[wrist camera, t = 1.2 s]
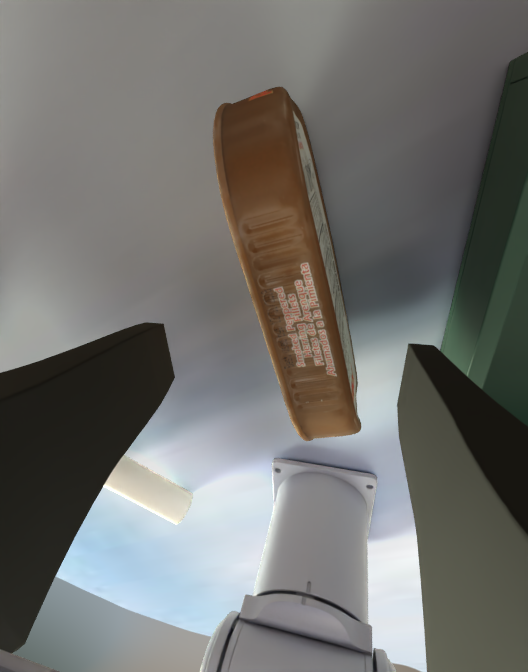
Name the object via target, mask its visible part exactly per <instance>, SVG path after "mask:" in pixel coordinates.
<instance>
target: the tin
mask: <svg viewBox="0 0 528 672" xmlns="http://www.w3.org/2000/svg"><path fill="white" fill-rule="evenodd" d="M213 146H214V156H215V164H216V172H217V178H218V183H219V189H220V193H221V198H222V202H223V207H224V210H225V215H226V219H227V221H228V225H229V229H230V232H231V236H232V239H233V242H234V245H235V248H236V251H237V254H238V257H239V261H240V264H241V267H242V270H243V273H244V276H245V279H246V282H247V285H248V288H249V292H250V295H251V298H252V301H253V304H254V307H255V310H256V313H257V317H258V320H259V322H260V325H261V328H262V332H263V335H264V338H265V341H266V344H267V348H268V351H269V354H270V357H271V359H272V363H273V366H274V370H275V373H276V376H277V379H278V382H279V385H280V388H281V391H282V395H283V398H284V402H285V405H286V407H287V410H288V413H289V416H290V419H291V421H292V424H293V426H294V428H295V429H296V431H297V433H298V435H299V436H300V437H301V438H302V439H303V440H305V441H311V440H313V439H314V438H325V437H336V436H346V435H352V434H356V433H358V432H359V431H360V430H361V422H360V419H359V417H358V415H357V402H356V392H357V384H358V382H357V372H356V366H355V360H354V354H353V348H352V341H351V336H350V331H349V326H348V320H347V315H346V310H345V305H344V299H343V294H342V289H341V283H340V278H339V272H338V267H337V262H336V257H335V252H334V247H333V242H332V237H331V232H330V228H329V223H328V218H327V214H326V209H325V205H324V200H323V196H322V191H321V187H320V182H319V178H318V173H317V169H316V165H315V160H314V156H313V152H312V148H311V144H310V140H309V136H308V133H307V129H306V126H305V122H304V119H303V116H302V114H301V111H300V110H299V108H298V106H297V105H296V104H295V102H294V101H293V100H292V99H291V97H290V96H289V94H288V92H287V91H286V90H285V89H284V88H283V87H275V88H272V89H269V90H266V91H264V92H261V93H259V94H256V95H254V96H251V97H249V98H246V99H244V100H241V101H239V102H236V103H233V104H231V103H224V104H222V105H221V106H220V107H219V108H218V109H217V112H216V115H215V119H214V128H213Z"/></svg>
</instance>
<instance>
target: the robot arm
mask: <svg viewBox="0 0 528 672" xmlns="http://www.w3.org/2000/svg"><path fill="white" fill-rule="evenodd" d="M174 378H175V376H174V371H173V366H172V362H171V357H170V352H169V347H168V343H167V338H166V333H165V329H164V324H159V323H147V322H146V323H142V324H138V325H135V326H132V327H129V328H126V329H123V330H121V331H118V332H115V333H113V334H110V335H107V336H105V337H102V338H100V339H97V340H95V341H92V342H90V343H87V344H84V345H82V346H79V347H77V348H74V349H71V350H68V351H66V352H63V353H60V354H57V355H55V356H52V357H49V358H46V359H44V360H41V361H38V362H35V363H32V364H29V365H26V366H22V367H19V368H16V369H12V370H9V371H5V372H2V373H0V672H59V671H56V670H54V669H51V668H48V667H46V666H43V665H40V664H38V663H35V662H32V661H30V660H27V659H25V658H22V657H19V656H17V655H14V654H11V653H13V652H14V651H16V650H18V649H19V648H20V647H21V646H23V645H24V644H25V642H26V640H27V638H28V635H29V633H30V631H31V628H32V626H33V624H34V621H35V619H36V617H37V615H38V613H39V610H40V608H41V606H42V604H43V602H44V600H45V597H46V595H47V593H48V591H49V589H50V586H51V584H52V582H53V580H54V578H55V576H56V574H57V572H58V570H59V568H60V566H61V564H62V562H63V560H64V558H65V556H66V554H67V552H68V550H69V548H70V546H71V544H72V542H73V540H74V538H75V536H76V534H77V532H78V530H79V529H80V527H81V525H82V523H83V521H84V519H85V518H86V516H87V514H88V512H89V510H90V508H91V506H92V505H93V503H94V501H95V500H96V498H97V496H98V494H99V493H100V491H101V489H102V488H103V486H104V484H105V483H106V481H107V479H108V477H109V476H110V474H111V473H112V471H113V470H114V468H115V467H116V465H117V464H118V462H119V461H120V459H121V458H122V457H123V455H124V454H125V452H126V451H127V450H128V448H129V447H130V446H131V444H132V443H133V442H134V440H135V439H136V437H137V436H138V435H139V433H140V432H141V431H142V429H143V428H144V427H145V425H146V424H147V423H148V421H149V420H150V418H151V417H152V416H153V414H154V413H155V411H156V410H157V409H158V407H159V406H160V404H161V403H162V401H163V399H164V397H165V396H166V394H167V392H168V390H169V388H170V386H171V384H172V382H173V380H174ZM397 407H398V427H399V439H400V445H401V450H402V455H403V461H404V466H405V471H406V477H407V482H408V487H409V492H410V498H411V503H412V508H413V513H414V519H415V526H416V533H417V542H418V554H419V565H420V576H421V589H422V603H423V616H424V629H425V645H426V662H427V672H528V426H527V425H525V424H524V423H523V422H521V421H520V420H519V419H517V418H516V417H515V416H514V415H512V414H511V413H510V412H509V411H507V410H506V409H505V408H503V407H502V406H501V405H500V404H498V403H497V402H496V401H495V400H494V399H492V398H491V397H490V396H489V395H488V394H486V393H485V392H484V391H483V390H482V389H481V388H480V387H478V386H477V385H476V384H475V383H474V382H473V381H472V380H471V379H470V378H468V377H467V376H466V375H465V374H464V373H463V372H462V371H461V370H460V369H459V368H458V367H457V366H456V365H454V364H453V363H452V362H451V361H450V360H449V359H448V358H447V357H446V356H445V355H444V354H443V353H442V352H441V351H440V350H438V349H437V348H436V347H435V346H433V345H421V344H408V350H407V355H406V360H405V366H404V371H403V376H402V382H401V387H400V393H399V398H398V403H397ZM278 468H279V469H278ZM272 478H273V498H274V509H273V514H272V518H271V522H270V526H269V530H268V534H267V538H266V542H265V546H264V551H263V555H262V559H261V563H260V567H259V571H258V575H257V579H256V583H255V588H254V592H253V596H252V595H245V597H244V600H243V604H242V608H241V612H240V613H239V612H237V611H232V612H230V613H229V614H228V615H227V616H226V617H225V619H224V620H222V621H221V622H220V623H219V624H218V626H217V627H216V629H215V631H214V633H213V635H212V637H211V639H210V642H209V644H208V647H207V650H206V652H205V655H204V659H203V662H202V666H201V669H200V672H396V671H395V668H394V666H393V665H392V663H391V662H390V660H389V659H388V658H387V655H386V653H385V651H384V650H382V649H376V648H374V650H373V659H372V626H371V625H369V624H368V560H367V539H368V533H369V528H370V522H371V516H372V511H373V505H374V499H375V493H376V488H377V477H376V476H375V475H373V474H369V473H363V472H357V471H351V470H345V469H339V468H333V467H327V466H321V465H315V464H310V463H304V462H298V461H292V460H286V459H280V458H276V459H274V460H273V462H272ZM369 484H370V485H369Z"/></svg>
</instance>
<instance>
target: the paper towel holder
mask: <svg viewBox="0 0 528 672" xmlns="http://www.w3.org/2000/svg"><path fill="white" fill-rule="evenodd" d="M104 487H106V488H108V489H110V490H112V491H113V492H115V493H117V494H119V495H121V496H123V497H125V498H127V499H129V500H131V501H133V502H134V503H136V504H138V505H140V506H142V507H144V508H146V509H148V510H150V511H152V512H153V513H155V514H157V515H159V516H161V517H163V518H165V519H167V520H169V521H171V522H173V523H174V524H178V523H180V522H181V521H182V519H183V518H184V517H185V515H186V513H187V512H188V510H189V508H190V505H191V503H192V499H193V494H192V493H191V492H189V491H188V490H186V489H184V488H182V487H180V486H179V485H177V484H175V483H173V482H172V481H170V480H168V479H166V478H164V477H163V476H161V475H159V474H157V473H155V472H154V471H152V470H150V469H148V468H147V467H145V466H143V465H141V464H139V463H138V462H136V461H134V460H132V459H130V458H129V457H127V456H125V455H123V457H122V458H121V459H120V461H119V462H118V464H117V465H116V467H115V468H114V470H113V471H112V473H111V474H110V476H109V477H108V479H107V481H106V483H105V484H104Z"/></svg>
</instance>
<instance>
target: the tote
mask: <svg viewBox="0 0 528 672" xmlns="http://www.w3.org/2000/svg"><path fill="white" fill-rule="evenodd" d="M440 351H441V352H442V353H443V354H444V355H445V356H446V357H447V358H448V359H449V360H450V361H451V362H452V363H453V364H454V365H456V366H457V367H458V368H459V369H460V370H461V371H462V372H463V373H464V374H465V375H466V376H467V377H468V378H470V379H471V380H472V381H473V382H474V383H475V384H476V385H477V386H478V387H480V388H481V389H482V390H483V391H484V392H485V393H486V394H488V395H489V396H490V397H491V398H492V399H494V400H495V401H496V402H497V403H498V404H500V405H501V406H502V407H503V408H505V409H506V410H507V411H509V412H510V413H511V414H512V415H514V416H515V417H516V418H517V419H519V420H520V421H521V422H523V423H524V424H525V425H527V426H528V52H527V53H525V54H523V55H521V56H519V57H517V58H516V59H514V60H512V61H511V62H510V65H509V69H508V73H507V77H506V81H505V85H504V90H503V94H502V98H501V102H500V106H499V110H498V114H497V119H496V123H495V127H494V131H493V135H492V139H491V143H490V147H489V152H488V156H487V160H486V164H485V168H484V172H483V176H482V181H481V185H480V189H479V193H478V197H477V201H476V205H475V210H474V214H473V218H472V222H471V226H470V230H469V234H468V239H467V243H466V247H465V251H464V255H463V259H462V263H461V268H460V272H459V276H458V280H457V284H456V288H455V292H454V296H453V301H452V305H451V309H450V313H449V317H448V321H447V325H446V330H445V334H444V338H443V342H442V346H441V350H440Z"/></svg>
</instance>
